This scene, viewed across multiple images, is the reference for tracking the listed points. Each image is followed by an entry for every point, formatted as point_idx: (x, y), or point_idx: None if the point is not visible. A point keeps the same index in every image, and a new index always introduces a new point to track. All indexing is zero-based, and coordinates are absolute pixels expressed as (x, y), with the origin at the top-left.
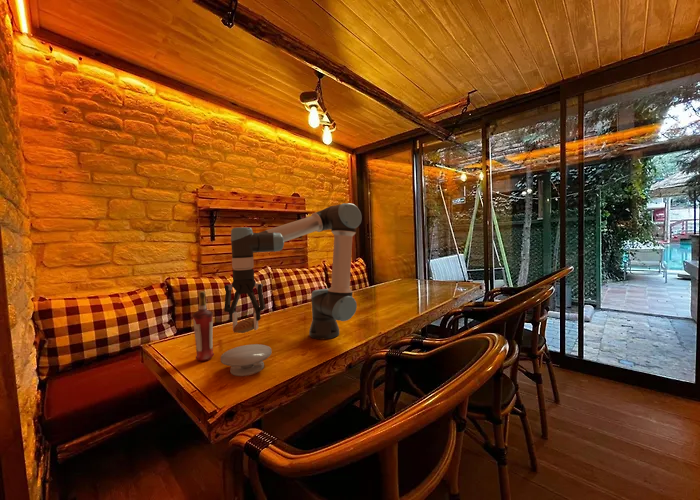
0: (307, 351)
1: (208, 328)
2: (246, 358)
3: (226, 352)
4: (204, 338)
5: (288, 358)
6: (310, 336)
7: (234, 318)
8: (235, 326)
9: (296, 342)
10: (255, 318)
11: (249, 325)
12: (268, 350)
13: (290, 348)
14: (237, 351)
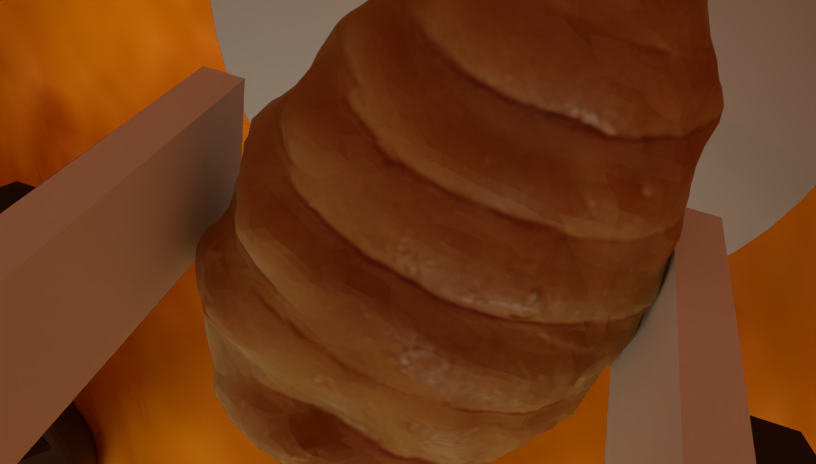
0: (37, 168)
1: None
2: None
3: (798, 164)
4: None
5: (165, 83)
6: (77, 417)
7: (680, 433)
8: (656, 174)
9: (165, 373)
10: (26, 199)
11: (279, 118)
12: (246, 22)
13: (190, 284)
14: None
